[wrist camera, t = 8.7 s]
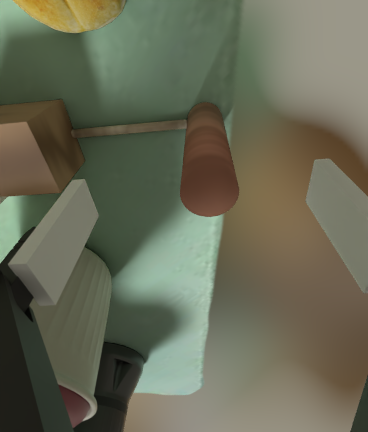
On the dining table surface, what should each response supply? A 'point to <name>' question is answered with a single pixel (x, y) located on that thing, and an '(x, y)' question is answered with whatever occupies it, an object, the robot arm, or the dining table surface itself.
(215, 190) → the block with cord
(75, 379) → the canister
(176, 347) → the dining table surface
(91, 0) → the bread roll
